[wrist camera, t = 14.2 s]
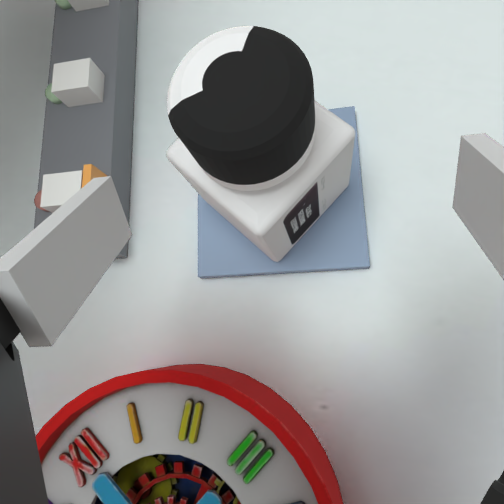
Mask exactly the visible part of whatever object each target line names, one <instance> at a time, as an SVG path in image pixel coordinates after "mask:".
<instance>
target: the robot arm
mask: <svg viewBox="0 0 504 504" xmlns="http://www.w3.org/2000/svg"><path fill="white" fill-rule="evenodd" d="M453 209H454V210H455V212H456V213H457V215H458V216H459V218H460V219H461V220H462V222H463V223H464V225H465V226H466V227H467V229H468V230H469V232H470V233H471V235H472V236H473V237H474V239H475V240H476V242H477V243H478V244H479V246H480V247H481V249H482V250H483V252H484V253H485V254H486V256H487V257H488V259H489V260H490V261H491V263H492V264H493V266H494V267H495V269H496V270H497V271H498V273H499V274H500V276H501V277H502V278H503V280H504V147H503V146H502V145H500V144H499V143H498V142H496V141H495V140H494V139H492V138H491V137H490V136H488V135H487V134H486V133H481V134H472V135H464V136H461V141H460V149H459V157H458V166H457V174H456V183H455V191H454V200H453ZM131 236H132V233H131V230H130V227H129V225H128V222H127V219H126V216H125V213H124V211H123V208H122V205H121V202H120V200H119V197H118V194H117V191H116V188H115V186H114V183H113V180H112V177H111V176H106V177H98V178H93V179H92V180H91V181H90V182H88V183H87V184H86V185H85V186H84V187H83V188H81V189H80V190H79V191H78V192H77V193H76V194H74V195H73V196H72V197H71V198H70V199H69V200H67V201H66V202H65V203H64V204H63V205H62V206H60V207H59V208H58V209H57V210H56V211H55V212H53V213H52V214H51V215H50V216H49V217H48V218H46V219H45V220H44V221H43V222H42V223H41V224H39V225H38V226H37V227H36V228H35V229H34V230H32V231H31V232H30V233H29V234H28V235H27V236H25V237H24V238H23V239H22V240H21V241H20V242H18V243H17V244H16V245H15V246H14V247H13V248H11V249H10V250H9V251H8V252H7V253H6V254H4V255H3V256H2V257H1V258H0V504H49V502H48V497H47V492H46V487H45V482H44V477H43V472H42V467H41V462H40V457H39V452H38V447H37V442H36V437H35V432H34V427H33V422H32V417H31V412H30V407H29V402H28V397H27V392H26V387H25V382H24V377H23V372H22V367H21V362H20V357H19V352H18V349H17V348H16V346H15V345H14V343H13V342H12V341H13V340H14V339H15V337H16V336H17V335H18V334H19V333H21V334H22V336H23V338H24V339H25V341H26V342H27V344H28V346H29V347H41V346H52V345H53V344H54V343H55V341H56V340H57V338H58V337H59V336H60V334H61V333H62V332H63V330H64V329H65V327H66V326H67V325H68V323H69V322H70V320H71V319H72V318H73V316H74V315H75V314H76V312H77V311H78V309H79V308H80V307H81V305H82V304H83V302H84V301H85V300H86V298H87V297H88V296H89V294H90V293H91V291H92V290H93V289H94V287H95V286H96V285H97V283H98V282H99V280H100V279H101V278H102V276H103V275H104V273H105V272H106V271H107V269H108V268H109V267H110V265H111V264H112V262H113V261H114V260H115V258H116V257H117V255H118V254H119V253H120V251H121V250H122V249H123V247H124V246H125V244H126V243H127V242H128V240H129V239H130V238H131ZM481 504H504V471H503V473H502V475H501V476H500V478H499V479H498V481H497V480H495V481H494V482H493V483H492V485H491V486H490V488H489V490H488V491H487V493H486V495H485V497H484V498H483V500H482V502H481Z"/></svg>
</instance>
